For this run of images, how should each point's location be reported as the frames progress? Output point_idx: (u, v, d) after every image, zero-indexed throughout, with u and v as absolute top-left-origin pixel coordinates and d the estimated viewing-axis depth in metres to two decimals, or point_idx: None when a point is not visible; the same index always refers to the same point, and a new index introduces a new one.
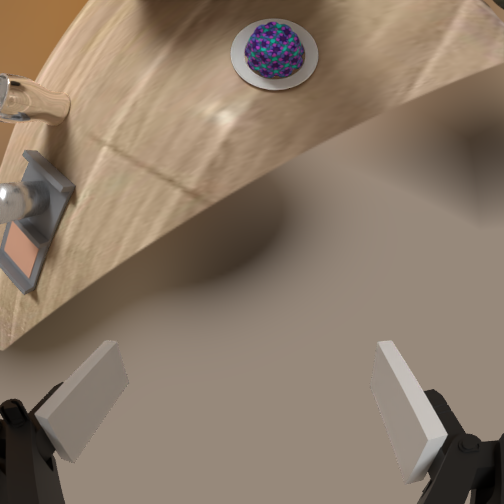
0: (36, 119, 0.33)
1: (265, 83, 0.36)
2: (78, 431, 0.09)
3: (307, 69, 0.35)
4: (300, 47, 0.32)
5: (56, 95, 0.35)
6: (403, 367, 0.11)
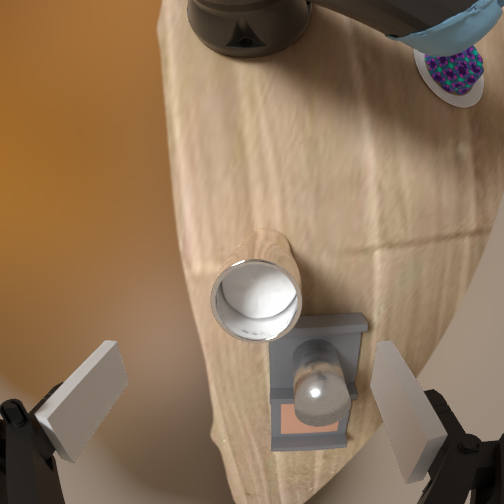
0: None
1: (467, 100, 0.28)
2: (78, 431, 0.09)
3: None
4: None
5: (272, 237, 0.32)
6: (403, 367, 0.11)
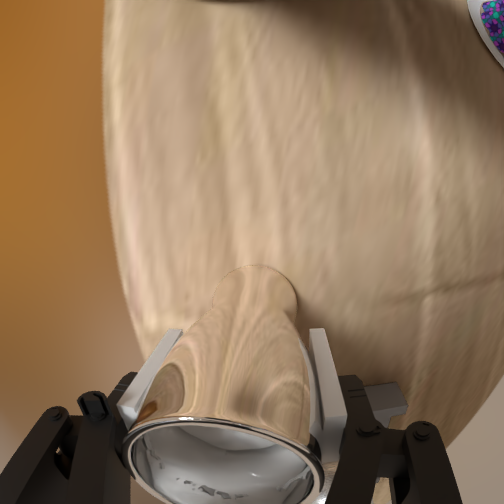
0: None
1: None
2: None
3: None
4: None
5: (266, 287, 0.18)
6: (325, 352, 0.13)
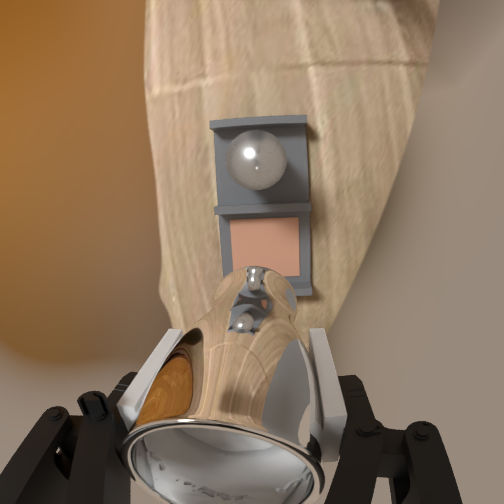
0: None
1: None
2: None
3: None
4: None
5: (265, 288, 0.18)
6: (325, 352, 0.13)
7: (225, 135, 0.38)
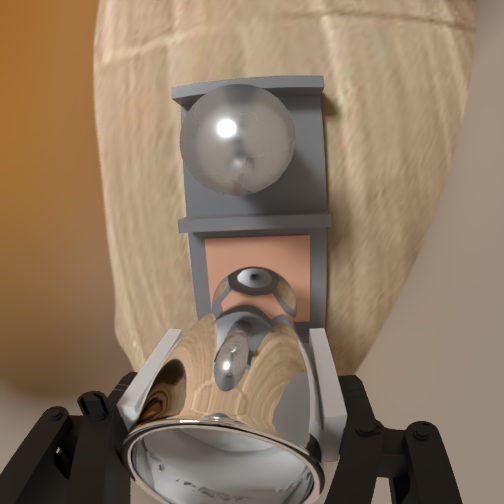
0: None
1: None
2: None
3: None
4: None
5: (266, 288, 0.18)
6: (325, 352, 0.13)
7: None
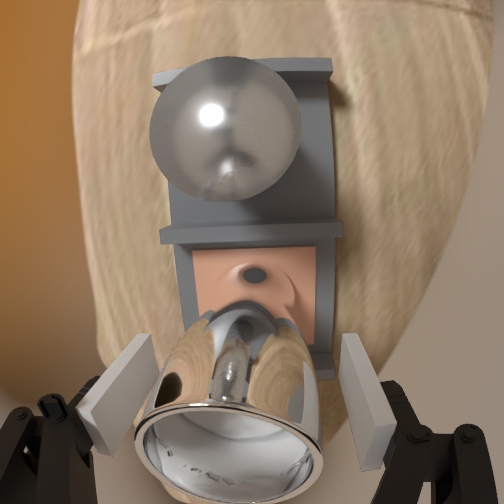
0: None
1: None
2: (117, 423, 0.10)
3: None
4: None
5: (266, 282, 0.19)
6: (363, 358, 0.12)
7: None
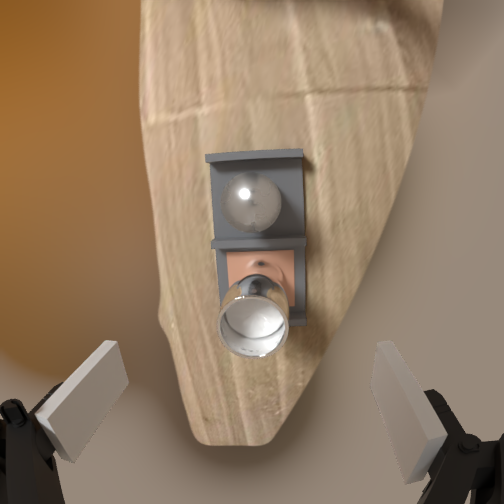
0: None
1: None
2: (78, 431, 0.09)
3: None
4: None
5: (267, 267, 0.38)
6: (403, 367, 0.11)
7: (221, 168, 0.39)
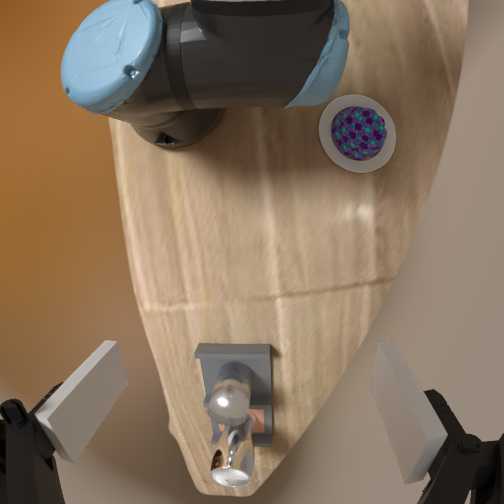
0: None
1: (380, 159, 0.40)
2: (78, 431, 0.09)
3: (386, 121, 0.39)
4: None
5: None
6: (403, 367, 0.11)
7: None
